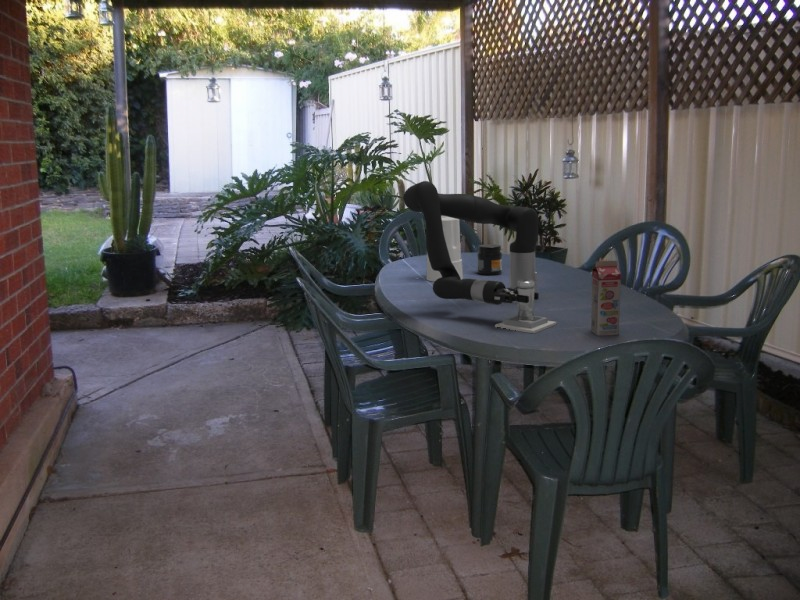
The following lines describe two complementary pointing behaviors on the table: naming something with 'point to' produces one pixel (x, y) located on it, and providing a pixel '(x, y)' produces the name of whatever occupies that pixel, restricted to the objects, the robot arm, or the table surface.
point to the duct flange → (526, 324)
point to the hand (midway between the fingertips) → (533, 297)
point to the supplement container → (489, 259)
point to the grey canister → (528, 308)
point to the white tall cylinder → (449, 247)
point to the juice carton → (605, 298)
